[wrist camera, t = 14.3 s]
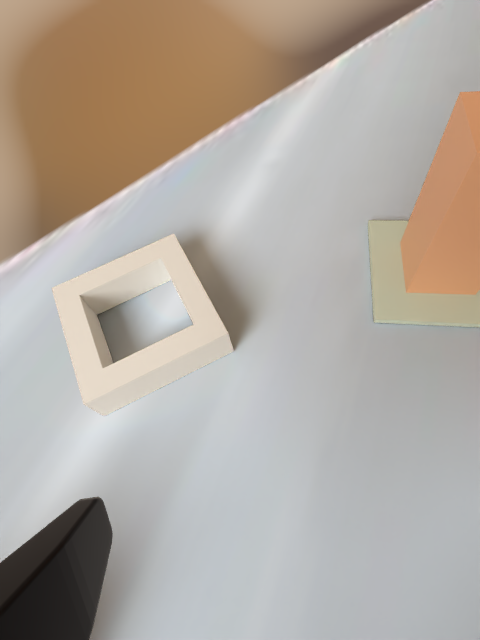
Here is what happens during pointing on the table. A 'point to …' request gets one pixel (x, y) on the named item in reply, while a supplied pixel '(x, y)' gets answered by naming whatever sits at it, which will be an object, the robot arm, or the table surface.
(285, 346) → the table surface
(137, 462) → the table surface
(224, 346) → the cream square frame
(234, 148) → the table surface
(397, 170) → the table surface
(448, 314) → the mat
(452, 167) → the plug
